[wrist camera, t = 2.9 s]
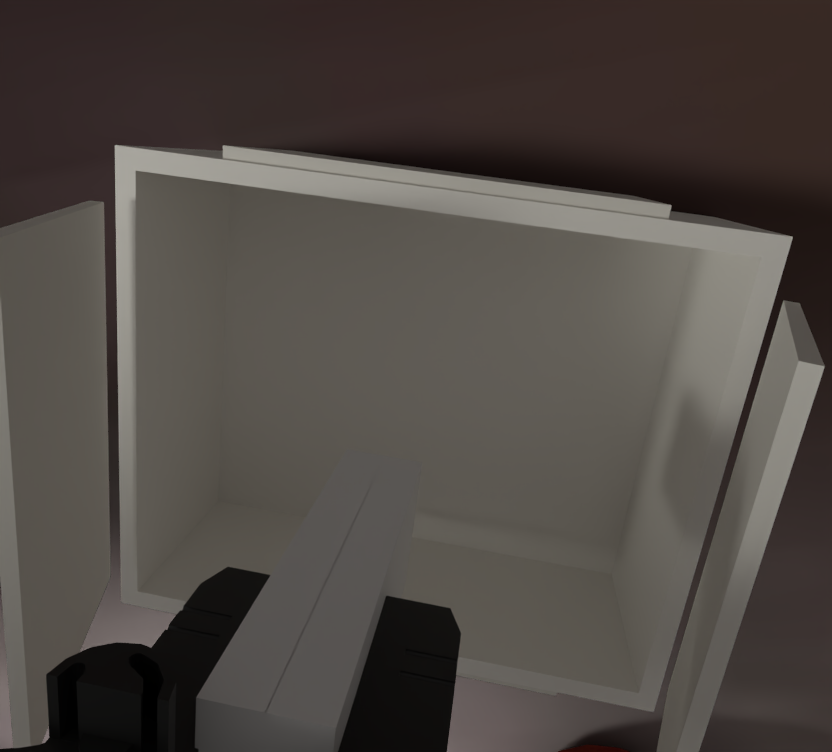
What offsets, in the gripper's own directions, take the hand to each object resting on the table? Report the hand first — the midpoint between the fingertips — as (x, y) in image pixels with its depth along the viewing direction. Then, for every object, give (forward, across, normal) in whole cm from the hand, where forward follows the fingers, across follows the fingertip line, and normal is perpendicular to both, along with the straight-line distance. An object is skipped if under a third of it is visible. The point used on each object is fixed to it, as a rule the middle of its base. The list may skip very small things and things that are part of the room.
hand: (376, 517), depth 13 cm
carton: (+10, 0, 0) cm, 10 cm away
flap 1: (0, -7, 0) cm, 7 cm away
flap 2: (0, +7, 0) cm, 7 cm away
